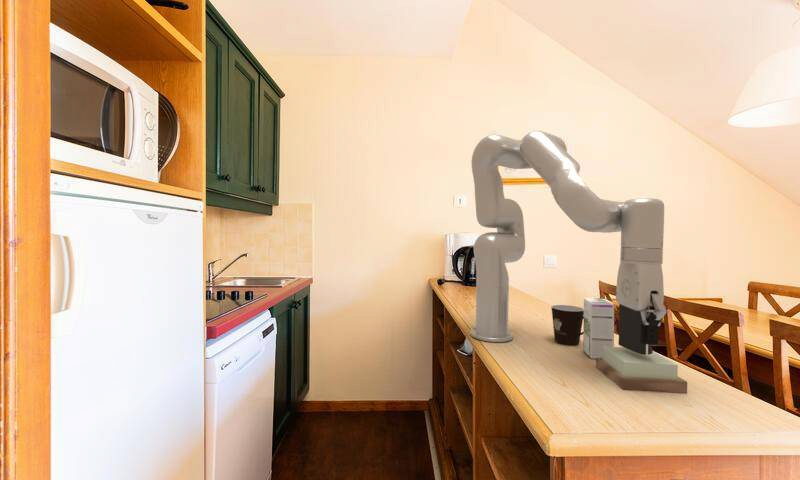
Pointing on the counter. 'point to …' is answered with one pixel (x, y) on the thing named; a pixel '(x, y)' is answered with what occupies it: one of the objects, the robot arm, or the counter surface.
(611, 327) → the syrup box
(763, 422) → the counter surface
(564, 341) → the coffee mug
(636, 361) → the tower top
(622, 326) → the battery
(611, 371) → the tower base
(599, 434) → the counter surface
